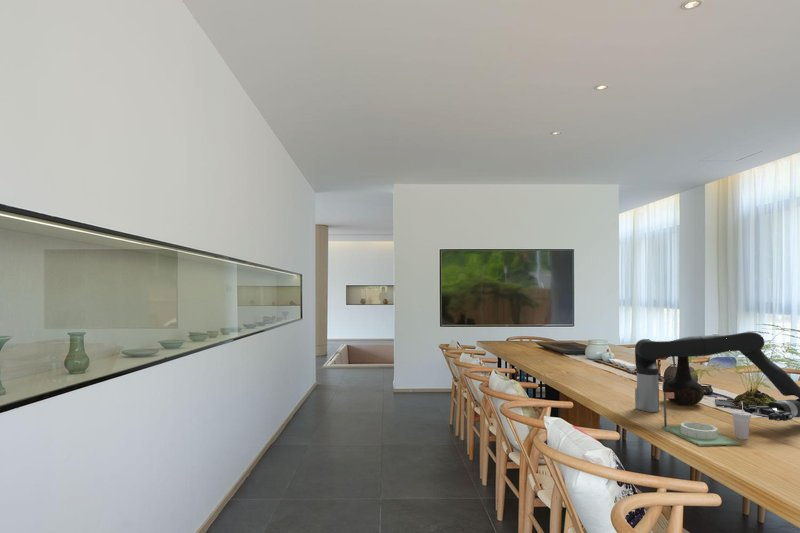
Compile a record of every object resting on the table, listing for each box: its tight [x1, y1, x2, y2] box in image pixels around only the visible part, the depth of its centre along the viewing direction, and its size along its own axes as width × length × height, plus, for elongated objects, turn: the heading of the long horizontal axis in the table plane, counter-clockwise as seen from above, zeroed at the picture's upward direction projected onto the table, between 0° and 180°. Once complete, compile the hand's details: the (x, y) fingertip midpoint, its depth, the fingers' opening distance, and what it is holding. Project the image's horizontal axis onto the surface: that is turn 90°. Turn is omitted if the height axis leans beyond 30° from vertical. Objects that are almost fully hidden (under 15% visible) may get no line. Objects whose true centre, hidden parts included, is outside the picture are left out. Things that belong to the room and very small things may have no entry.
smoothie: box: [730, 401, 752, 440], centre depth 180 cm, size 6×6×14 cm
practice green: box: [661, 392, 742, 446], centre depth 182 cm, size 22×16×15 cm
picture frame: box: [714, 398, 740, 409], centre depth 228 cm, size 13×2×18 cm
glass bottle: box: [662, 357, 705, 407], centre depth 233 cm, size 18×18×28 cm
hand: (757, 414), depth 184 cm, fingers open, 8 cm apart
